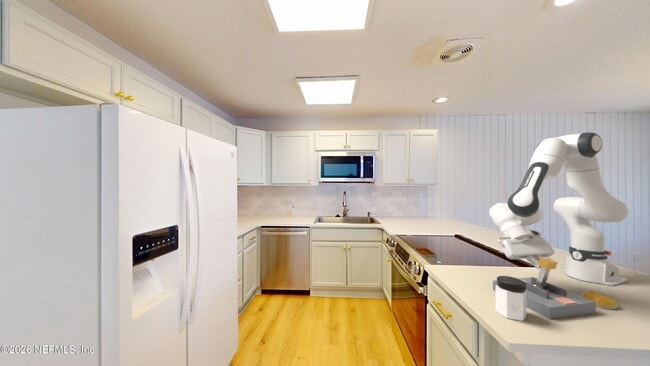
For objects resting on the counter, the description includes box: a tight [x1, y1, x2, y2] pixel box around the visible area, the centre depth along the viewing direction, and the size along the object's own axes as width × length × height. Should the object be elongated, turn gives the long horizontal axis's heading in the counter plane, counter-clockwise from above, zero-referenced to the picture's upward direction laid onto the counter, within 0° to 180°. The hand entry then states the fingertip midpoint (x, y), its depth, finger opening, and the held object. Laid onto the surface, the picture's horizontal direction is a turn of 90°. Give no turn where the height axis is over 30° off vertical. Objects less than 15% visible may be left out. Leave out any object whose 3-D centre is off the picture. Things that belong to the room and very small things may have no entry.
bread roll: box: [580, 290, 618, 310], centre depth 91 cm, size 8×9×4 cm
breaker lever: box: [532, 257, 558, 290], centre depth 91 cm, size 5×3×13 cm, turn 100°
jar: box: [495, 275, 528, 322], centre depth 83 cm, size 9×8×12 cm
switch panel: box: [492, 276, 597, 320], centre depth 93 cm, size 20×22×6 cm
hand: (541, 267), depth 92 cm, fingers closed, pressing on breaker lever
